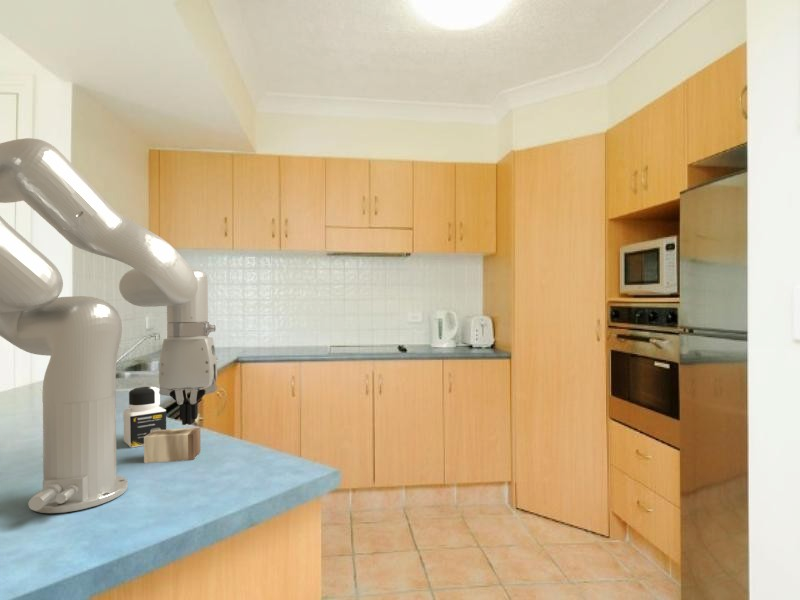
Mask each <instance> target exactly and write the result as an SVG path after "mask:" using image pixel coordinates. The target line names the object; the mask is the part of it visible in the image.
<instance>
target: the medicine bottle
mask: <svg viewBox="0 0 800 600" xmlns="http://www.w3.org/2000/svg"><path fill="white" fill-rule="evenodd" d="M159 390H160V387H156V386H141V387H136V388H133V389H131V390H130V391H129V392H128V407H129V408H127V409H124V410H123V442H124V443H125V444H126V445H127V446H129V448H131V449H133V448H138V447H144V437H145V436H146V435H148V434H149V433H150V432H152V431H153V430H167V409H165V408H164V407H162V406H160V405H161V394H159Z"/></svg>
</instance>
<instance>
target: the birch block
mask: <svg viewBox="0 0 800 600" xmlns="http://www.w3.org/2000/svg"><path fill="white" fill-rule="evenodd" d="M201 443H202V442H201V427H189V428H188V427H187V428H171V429H170V428H169V429H167V428H166V430H153V431H152V432H150V433H149V434H148V435H146V436H145V437H144V446H143V462H144V464H149V463H150V464H151V463H165V462H166V463H167V462H182V460H184V461H194V460H195V459H196V458H197V457H198V456H199V455H200V453H201V452H200V451H201V448H202V447H201ZM197 455H198V456H197ZM196 456H197V457H196ZM195 457H196V458H195Z"/></svg>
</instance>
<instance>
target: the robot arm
mask: <svg viewBox="0 0 800 600" xmlns="http://www.w3.org/2000/svg"><path fill="white" fill-rule="evenodd" d="M18 202H25V203H26V205H28V206H29V207H30V208H31V209H32V210H33V211H35V212H36V214H38V215H39V216H40V217H42V218H43V220H45V221H46V222H47V223H48V224H49V225H50V226H51V227H52V228H53V229H55V230H56V232H57V233H59V234H60V235H61V236H62V237H63V238H64V239H65V240H66V241H67V242H69V243H70V244H71V245H72V246H73V247H76V248H78V249H80V250H83V251H85V252H88V253H92V254H95V255H96V256H97V255H99V256H102V257H106V258H109V259H112V260H116V261H118V262H121V263H123V264H124V265H128V267H129V266H130V267H131V268H133V269H130V270H128V271H127V272H126V273H124V274H123V276H121V279H120V281H119V284H118V289H119V292H120V294H121V297H122V298H123V299H124V300H125V301H127V302H128V303H130V304H131V305H134V306H136V307H144V308H145V307H146V308H151V307H153V308H154V307H166V338H164V339H163V341H162V345H161V350H160V351H161V352H160V358H159V367H158V368H159V369H158V384H159V385H158V386H159V389H160V390H159V394H160V396H167V397H171V398H172V399H173V400H174V401H176V404H177V405H179V420H180V421H181V425H182V426H185V425H193V424H194V423H195V422H196V420H197V419H198V415H199V414H198V409H199V407H198V406H199V404H198V402H199V401H200V400H201V399H202V398H203V397H204V396H206V395H210V394H212V393H216V391H218V387H217V383H216V382H217V380H218V367H217V357H216V349H215V348H216V347H215V343H214V339H213V337H212V336H210V337H209V335H210V333H212V332H216V328H217V327H216V325H215V324H214V325H213V324H210V321H209V302H208V300H209V298H208V296H209V295H208V288H209V287H208V282H209V281H208V274H207V273H206V272H204V271H202V270H199V269H193V268H192V266H190V265H189V264H188V262H187V261H186V260H185V258H184V257H183V256H182V255H181V254H180V253H179V252H178V251H177V249H175V248H174V247H173V245H171V244H170V243H169V242H168V241H167V240H165V239H164V238H163V237H161V236H159V235H157V234H156V233H154V232H152V231H151V230H149V229H147V228H145V227H144V226H142V225H140V224H138V223H137V222H136V221H134V220H132V219H130V218H127V217H126V216H124V215H122V214H120V212H118V211H117V210H116V209H115V208H114V207H113V205H112V204H110V203H109V202H108V201H107V200H106V198H105V197H104V196H102V194H100V192H99V191H98V190H97V189H96V188H95V187H94V186H93V185H92V184H91V183H90V181H88V179H86V177H85V176H84V175H83V174H82V173H81V172H80V171H79V170H78V169H77V168H76V167H75V166H74V165H73V164H72V163H71V162H70V161H69V160H68V159H67V157H66V156H64V155H63V154H62V152H61V151H60V150H59V149H57V147H55V146H54V145H52V144H51V143H49V142H47V141H44V140H42V139H39V138H30V137H28V138H20V139H19V138H18V139H13V140H9V141H5V142H0V203H1V204H7V203H8V204H11V203H18ZM63 287H64V282H63V276H62V274H61V272H60V270H59V269H58V267H57V266H56V265H55V263H53V262H52V261H51V260H50V259H49V258H48V257H47V256H46V255H45V254H43V253H42V252H41V251H40V250H39V249H38V248H37V247H36V246H34V245H33V244H32V243H31V242H30V241H28V239H26V238H25V237H24V236H23V235H21V234H20V233H19V232H18V231H17V230H16V229H15V228H13V226H11V225H10V224H9V223H8V222H7V221H6V220H5V219H4V218H3V217H2V216H1V215H0V337H1V338H3V339H4V340H6V341H7V342H9V343H10V344H11V345H13V346H14V347H17V349H20V350H22V351H23V352H26V353H29V354H32V355H38V356H45V357H46V356H50V358H49V360H48V361H49V362H48V364H47V367H46V369H45V372H44V376H43V381H42V393H41V394H42V399H41V400H42V452H43V453H42V459H43V461H42V465H43V466H42V469H43V470H42V471H43V473H42V474H43V476H42V477H43V480H42V490H39V492H36V493H35V494H34V495H33V496H32V497H31V498H30V499H29V500H28V503H27V504H28V508H29V510H32V511H34V512H37V513H41V514H61V513H63V514H64V513H69V512H76V511H81V510H86V509H90V508H92V507H97V506H99V505H103V504H106V503H108V502H110V501H112V500H115V499H117V498H119V497H120V496H121V495H123V494H124V493H125V492H126V491H127V490H128V487H129V485H128V484H129V483H128V479H126V478H125V477H124V476H121V475H117V402H116V401H117V394H116V393H117V392H116V391H117V388H116V387H117V386H116V383H117V382H116V379H117V377H116V376H117V364H118V363H117V361H118V354H119V349H120V344H121V339H122V333H123V323H122V319H121V316H120V314H119V312H118V310H117V309H116V308H115V307H114V306H113V305H112V304H110V303H109V302H108V301H105V300H104V299H100V298H98V297H94V296H93V297H92V296H83V295H81V296H60V295H61V293H62V292H63ZM189 389H190V390H191V391H190V396H189V399H188V395H187V394H188V393H187V390H189Z"/></svg>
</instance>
